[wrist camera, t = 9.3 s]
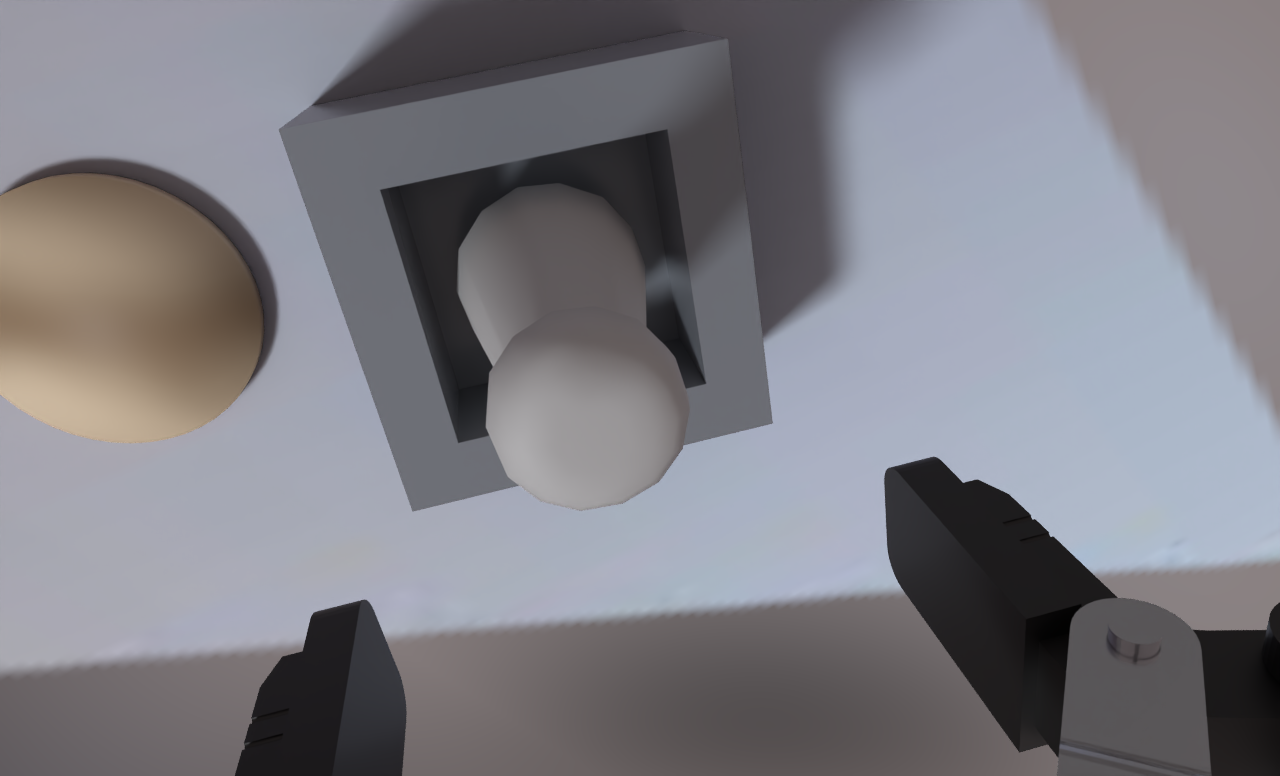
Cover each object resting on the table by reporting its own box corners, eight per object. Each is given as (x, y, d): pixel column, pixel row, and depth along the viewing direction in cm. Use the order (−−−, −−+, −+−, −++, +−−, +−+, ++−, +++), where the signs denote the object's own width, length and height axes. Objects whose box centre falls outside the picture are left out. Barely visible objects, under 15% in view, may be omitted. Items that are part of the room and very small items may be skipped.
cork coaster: (-105, 207, 26) (-117, 212, 25) (201, 145, 26) (196, 148, 26) (40, 461, 30) (32, 470, 29) (302, 400, 30) (299, 408, 30)
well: (310, 105, 26) (278, 129, 22) (685, 30, 28) (727, 38, 23) (420, 438, 32) (412, 511, 27) (731, 364, 33) (773, 423, 28)
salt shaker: (573, 133, 27) (651, 240, 16) (660, 278, 30) (784, 462, 18) (420, 232, 28) (386, 407, 16) (519, 367, 30) (552, 601, 19)
